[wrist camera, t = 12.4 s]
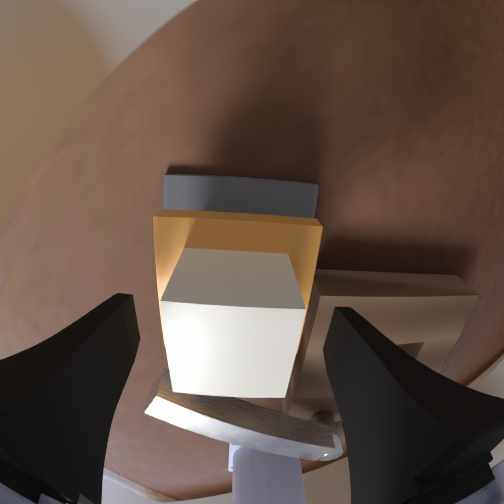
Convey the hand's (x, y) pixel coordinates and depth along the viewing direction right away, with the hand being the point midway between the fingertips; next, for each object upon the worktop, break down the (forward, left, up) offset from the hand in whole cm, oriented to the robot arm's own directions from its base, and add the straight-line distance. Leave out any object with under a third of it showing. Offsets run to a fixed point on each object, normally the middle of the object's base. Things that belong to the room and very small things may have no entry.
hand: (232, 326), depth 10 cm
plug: (0, 0, -6) cm, 6 cm away
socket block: (-7, -10, -7) cm, 14 cm away
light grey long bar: (-9, -2, -4) cm, 10 cm away
